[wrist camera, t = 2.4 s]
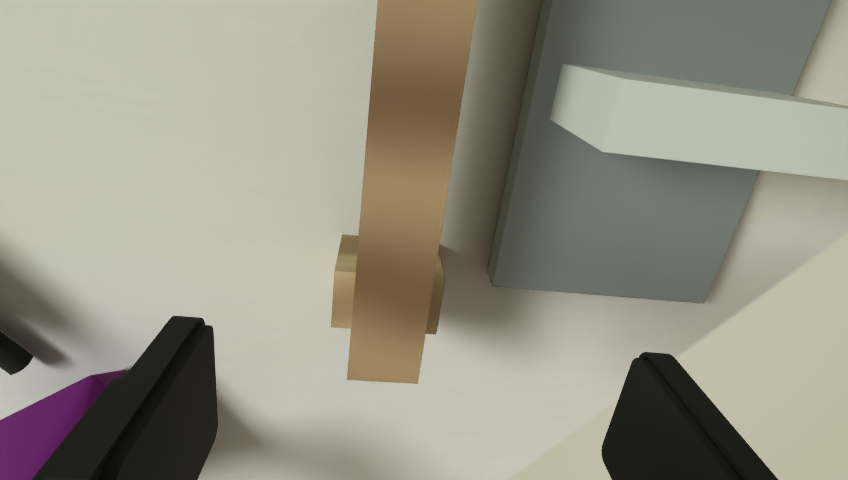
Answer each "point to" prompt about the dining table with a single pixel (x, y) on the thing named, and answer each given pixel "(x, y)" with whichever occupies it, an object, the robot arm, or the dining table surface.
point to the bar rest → (346, 285)
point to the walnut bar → (406, 180)
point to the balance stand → (655, 141)
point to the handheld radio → (12, 355)
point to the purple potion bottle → (46, 426)
